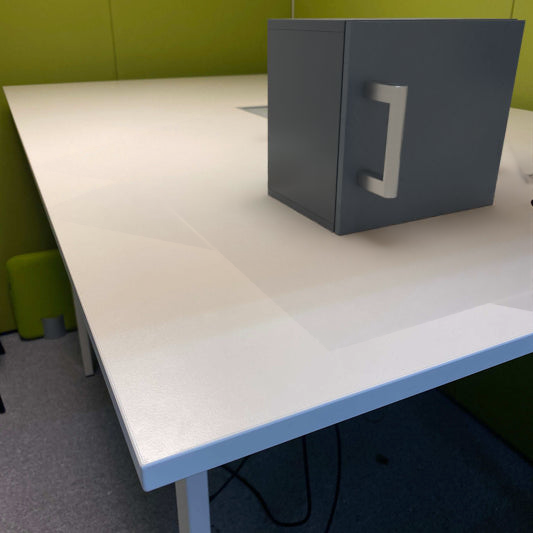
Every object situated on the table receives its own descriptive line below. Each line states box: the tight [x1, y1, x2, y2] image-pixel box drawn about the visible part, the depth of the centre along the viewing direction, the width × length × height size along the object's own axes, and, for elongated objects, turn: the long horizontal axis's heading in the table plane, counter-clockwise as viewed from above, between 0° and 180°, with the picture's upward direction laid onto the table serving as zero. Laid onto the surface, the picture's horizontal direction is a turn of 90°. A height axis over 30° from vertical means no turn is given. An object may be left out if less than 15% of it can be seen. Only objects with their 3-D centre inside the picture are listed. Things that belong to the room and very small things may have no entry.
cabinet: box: [267, 17, 518, 234], centre depth 76 cm, size 18×26×24 cm
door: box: [334, 19, 527, 236], centre depth 66 cm, size 7×26×24 cm, turn 117°
